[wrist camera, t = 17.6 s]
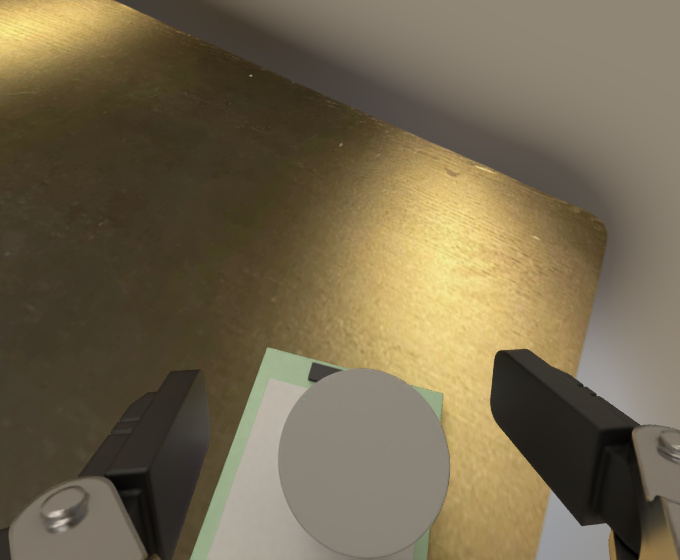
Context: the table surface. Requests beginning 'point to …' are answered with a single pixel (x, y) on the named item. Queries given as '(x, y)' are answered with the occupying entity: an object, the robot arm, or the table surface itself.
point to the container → (363, 463)
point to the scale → (273, 475)
